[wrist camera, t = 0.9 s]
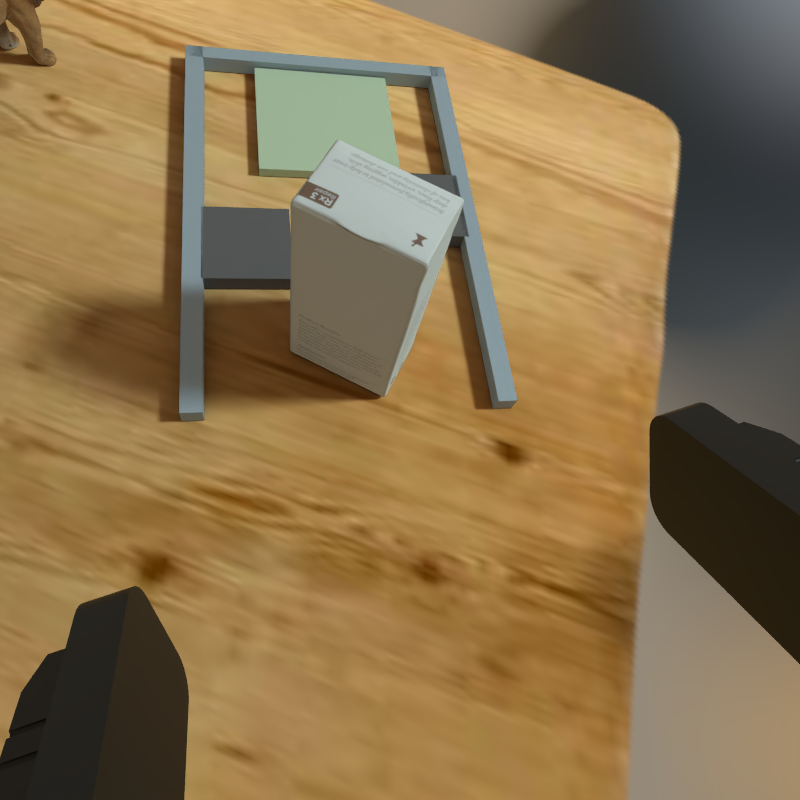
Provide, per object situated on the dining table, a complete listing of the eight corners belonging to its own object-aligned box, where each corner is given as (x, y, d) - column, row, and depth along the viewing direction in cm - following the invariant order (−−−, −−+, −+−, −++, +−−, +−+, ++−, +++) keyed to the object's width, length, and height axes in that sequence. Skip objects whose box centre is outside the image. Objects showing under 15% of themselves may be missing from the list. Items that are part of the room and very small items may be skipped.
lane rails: (511, 407, 36) (517, 400, 35) (181, 421, 32) (178, 413, 31) (440, 79, 47) (443, 67, 46) (187, 58, 43) (185, 45, 42)
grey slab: (464, 246, 40) (468, 236, 39) (387, 245, 39) (390, 234, 38) (452, 186, 42) (456, 175, 41) (378, 183, 41) (381, 171, 40)
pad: (399, 181, 41) (401, 175, 41) (259, 175, 39) (259, 168, 39) (383, 85, 45) (385, 78, 45) (254, 75, 43) (254, 67, 43)
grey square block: (292, 289, 36) (293, 278, 36) (202, 288, 35) (200, 278, 34) (288, 220, 38) (288, 209, 38) (202, 218, 37) (201, 206, 36)
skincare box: (414, 342, 36) (476, 193, 26) (382, 404, 34) (435, 270, 24) (318, 296, 37) (340, 128, 26) (281, 355, 34) (288, 198, 24)
